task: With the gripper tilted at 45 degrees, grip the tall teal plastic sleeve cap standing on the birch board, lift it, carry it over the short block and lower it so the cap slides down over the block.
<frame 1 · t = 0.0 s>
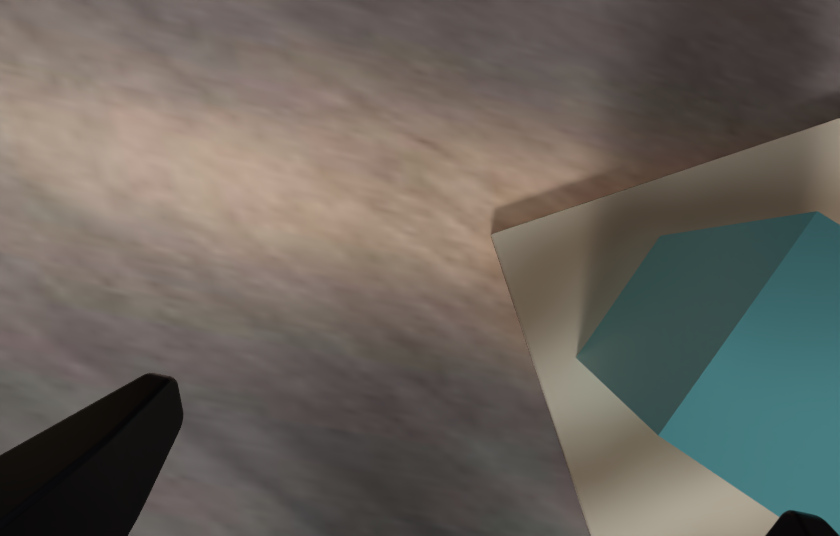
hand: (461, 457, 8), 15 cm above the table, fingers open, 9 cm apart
sleeve cap: (681, 338, 21), point 1 cm above the table, touching birch board
birch board: (795, 406, 22), on the table
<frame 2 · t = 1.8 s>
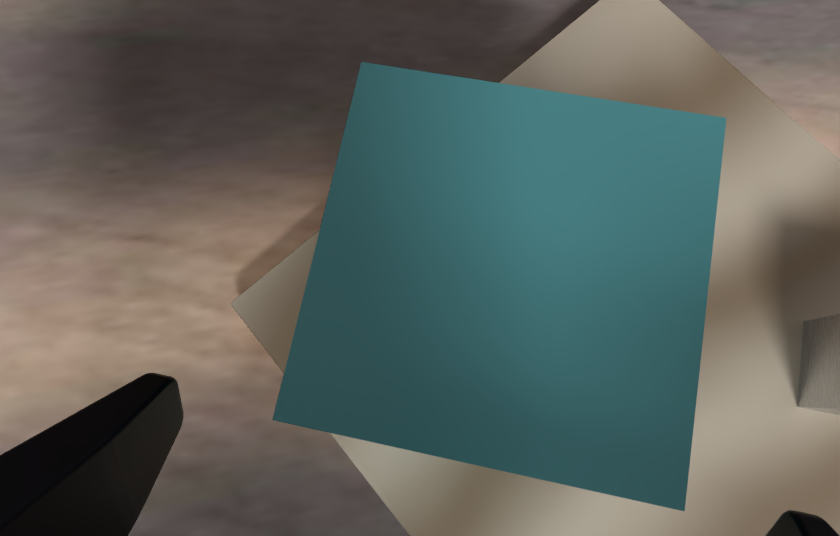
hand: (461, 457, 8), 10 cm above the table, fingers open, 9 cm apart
sleeve cap: (478, 332, 18), point 1 cm above the table, touching birch board
birch board: (641, 359, 18), on the table
block: (824, 373, 18), resting on birch board
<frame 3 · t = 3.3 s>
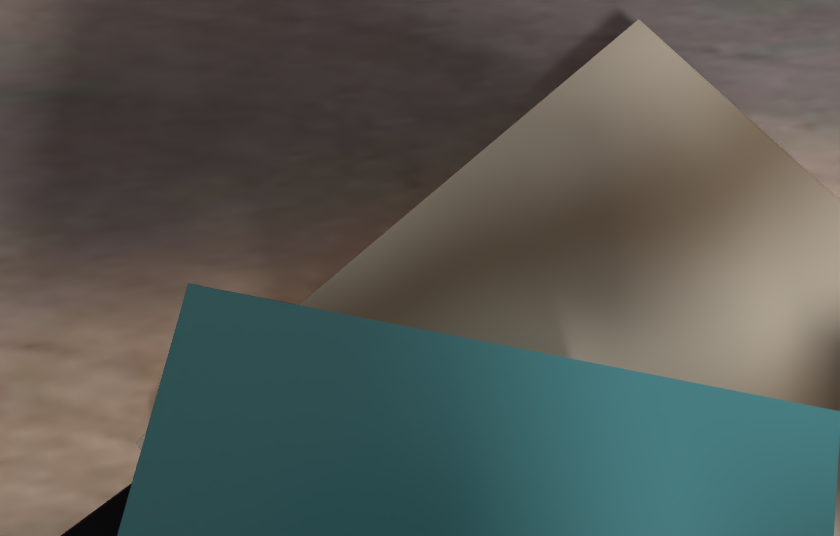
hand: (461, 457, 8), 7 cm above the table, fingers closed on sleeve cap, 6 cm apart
sleeve cap: (448, 484, 14), point 1 cm above the table, touching birch board, gripper
birch board: (654, 511, 15), on the table
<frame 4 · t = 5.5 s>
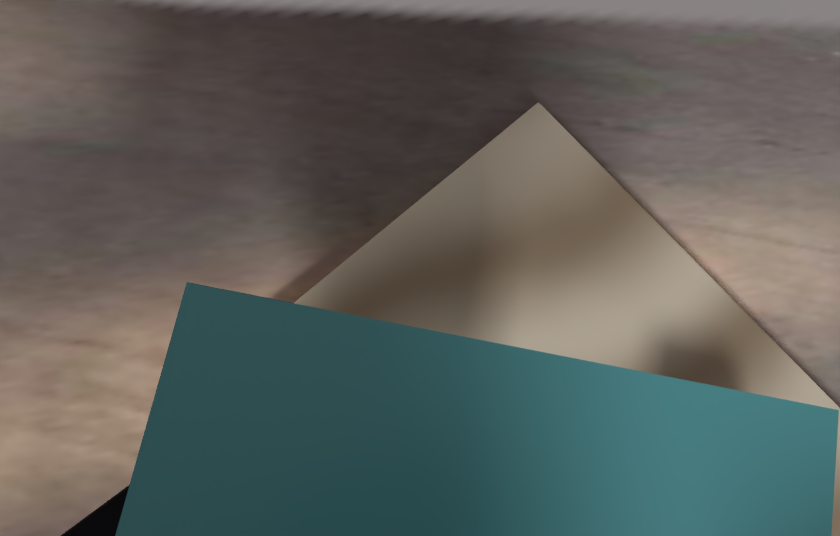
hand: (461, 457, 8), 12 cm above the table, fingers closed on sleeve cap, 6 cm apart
sleeve cap: (447, 484, 14), point 6 cm above the table, touching gripper
birch board: (535, 468, 20), on the table
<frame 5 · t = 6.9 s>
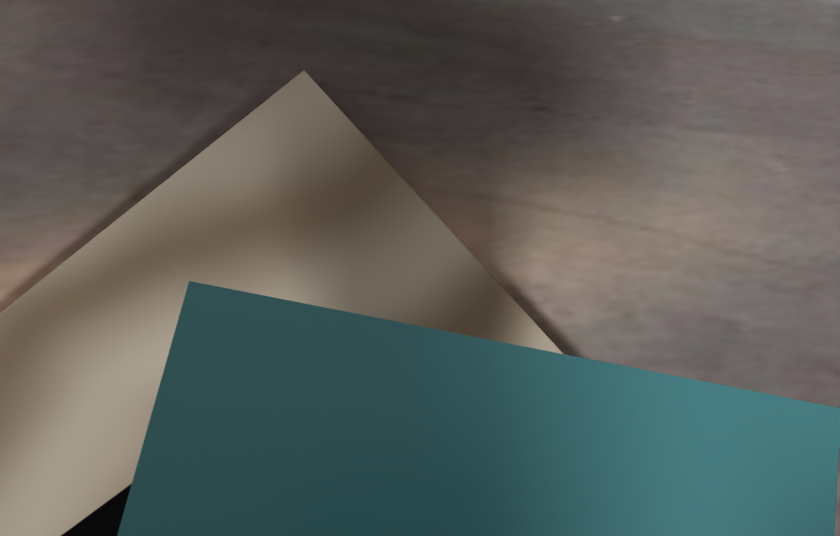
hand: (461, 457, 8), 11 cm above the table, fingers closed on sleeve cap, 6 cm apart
sleeve cap: (448, 484, 14), point 5 cm above the table, touching gripper
birch board: (286, 441, 20), on the table
when the fingers open (9 cm above the table, at t = 7.9 s): sleeve cap drops 2 cm, resting on birch board.
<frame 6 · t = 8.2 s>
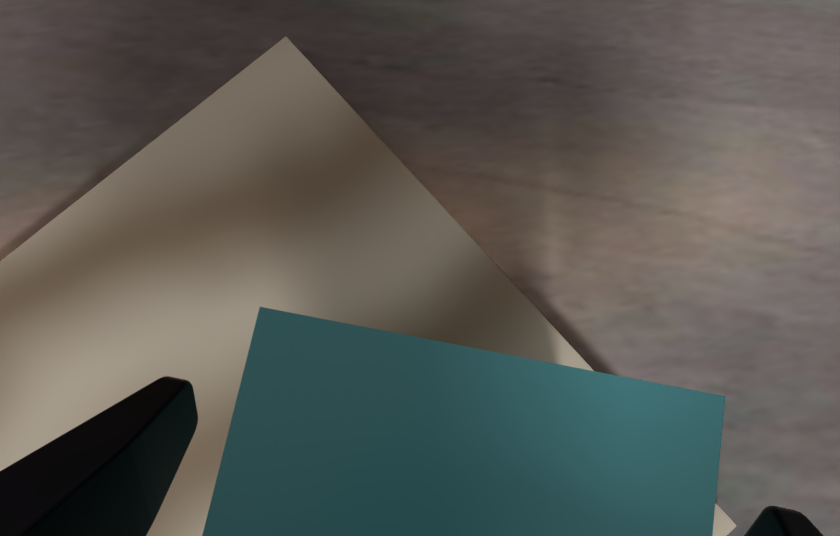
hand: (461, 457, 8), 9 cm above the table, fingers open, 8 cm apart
sleeve cap: (448, 469, 16), point 1 cm above the table, touching birch board
birch board: (264, 451, 17), on the table
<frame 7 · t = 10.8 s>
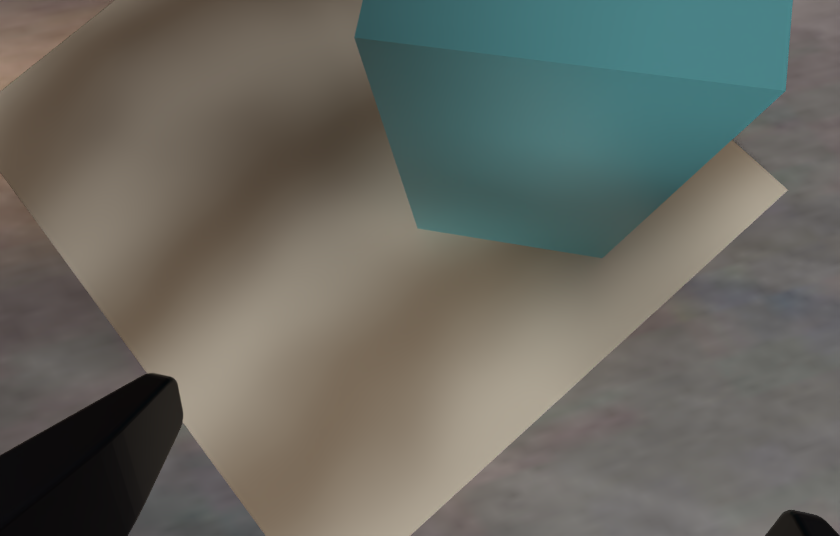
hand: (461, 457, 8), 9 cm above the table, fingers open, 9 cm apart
sleeve cap: (522, 156, 18), point 1 cm above the table, touching birch board
birch board: (350, 164, 19), on the table
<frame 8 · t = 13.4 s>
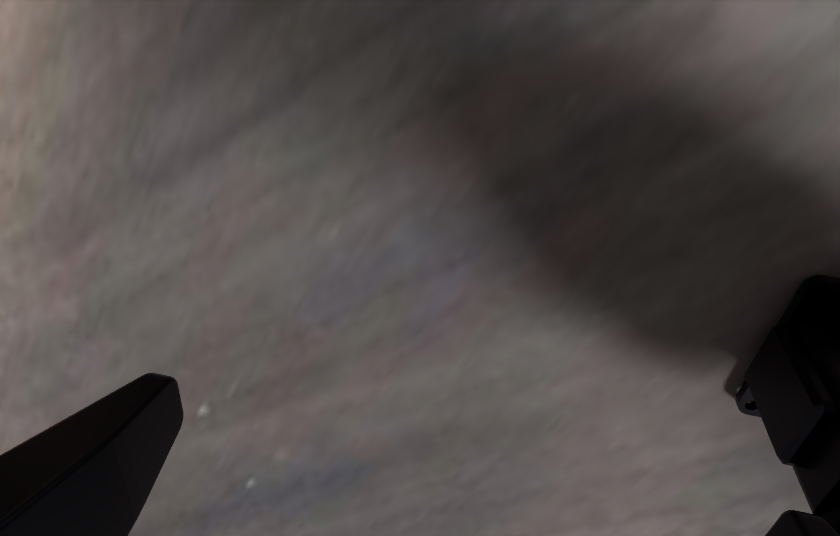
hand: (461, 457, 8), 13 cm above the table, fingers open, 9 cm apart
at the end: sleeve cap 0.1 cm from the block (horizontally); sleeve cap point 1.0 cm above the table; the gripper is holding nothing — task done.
